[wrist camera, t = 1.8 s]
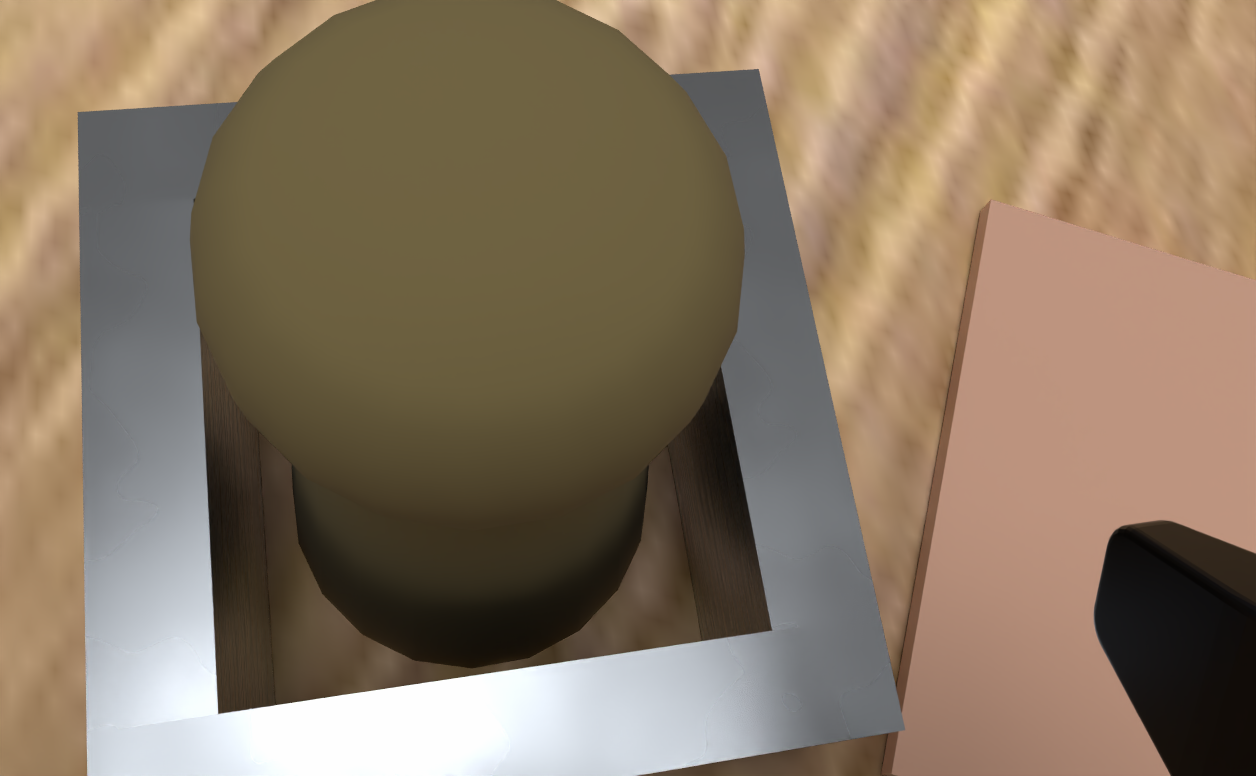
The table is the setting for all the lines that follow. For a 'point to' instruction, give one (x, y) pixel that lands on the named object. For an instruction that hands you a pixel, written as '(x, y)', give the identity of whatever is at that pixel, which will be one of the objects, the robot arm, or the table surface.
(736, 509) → the metal collar
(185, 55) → the table surface
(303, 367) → the cork
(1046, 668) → the terracotta tile
